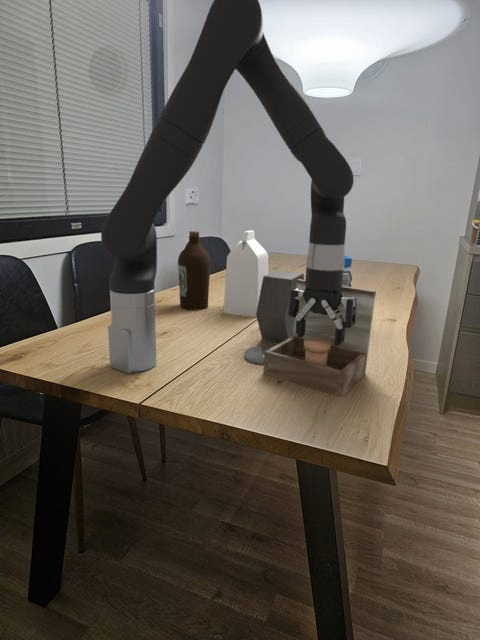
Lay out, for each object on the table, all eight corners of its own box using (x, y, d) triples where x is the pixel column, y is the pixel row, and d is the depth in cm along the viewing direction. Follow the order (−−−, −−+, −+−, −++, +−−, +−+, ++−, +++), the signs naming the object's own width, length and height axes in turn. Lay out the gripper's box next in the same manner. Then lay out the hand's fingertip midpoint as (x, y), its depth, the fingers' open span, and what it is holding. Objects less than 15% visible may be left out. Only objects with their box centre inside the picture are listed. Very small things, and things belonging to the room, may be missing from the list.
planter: (283, 307, 127) (273, 254, 112) (308, 311, 124) (301, 257, 109) (264, 351, 118) (251, 299, 103) (291, 356, 115) (281, 304, 100)
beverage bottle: (318, 321, 132) (324, 257, 126) (323, 314, 139) (328, 253, 134) (346, 324, 129) (353, 259, 123) (349, 317, 137) (356, 255, 131)
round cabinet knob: (321, 381, 89) (324, 348, 87) (296, 374, 92) (299, 342, 90) (332, 372, 94) (335, 340, 92) (308, 366, 97) (311, 335, 95)
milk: (257, 317, 133) (261, 233, 126) (223, 312, 137) (225, 231, 129) (267, 308, 144) (272, 231, 137) (236, 304, 148) (238, 228, 140)
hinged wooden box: (341, 396, 83) (352, 304, 77) (263, 373, 92) (267, 289, 87) (365, 373, 94) (376, 291, 89) (293, 354, 104) (299, 279, 98)
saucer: (269, 367, 95) (269, 364, 95) (236, 357, 100) (236, 354, 100) (288, 355, 102) (288, 352, 102) (256, 347, 107) (257, 344, 107)
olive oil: (203, 301, 149) (204, 230, 142) (214, 309, 140) (215, 233, 133) (174, 304, 145) (173, 230, 138) (183, 312, 136) (183, 233, 129)
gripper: (285, 264, 87) (281, 338, 92) (352, 272, 79) (344, 352, 84) (301, 259, 93) (297, 329, 98) (365, 267, 85) (357, 342, 90)
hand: (319, 340), depth 91 cm, fingers open, 8 cm apart
